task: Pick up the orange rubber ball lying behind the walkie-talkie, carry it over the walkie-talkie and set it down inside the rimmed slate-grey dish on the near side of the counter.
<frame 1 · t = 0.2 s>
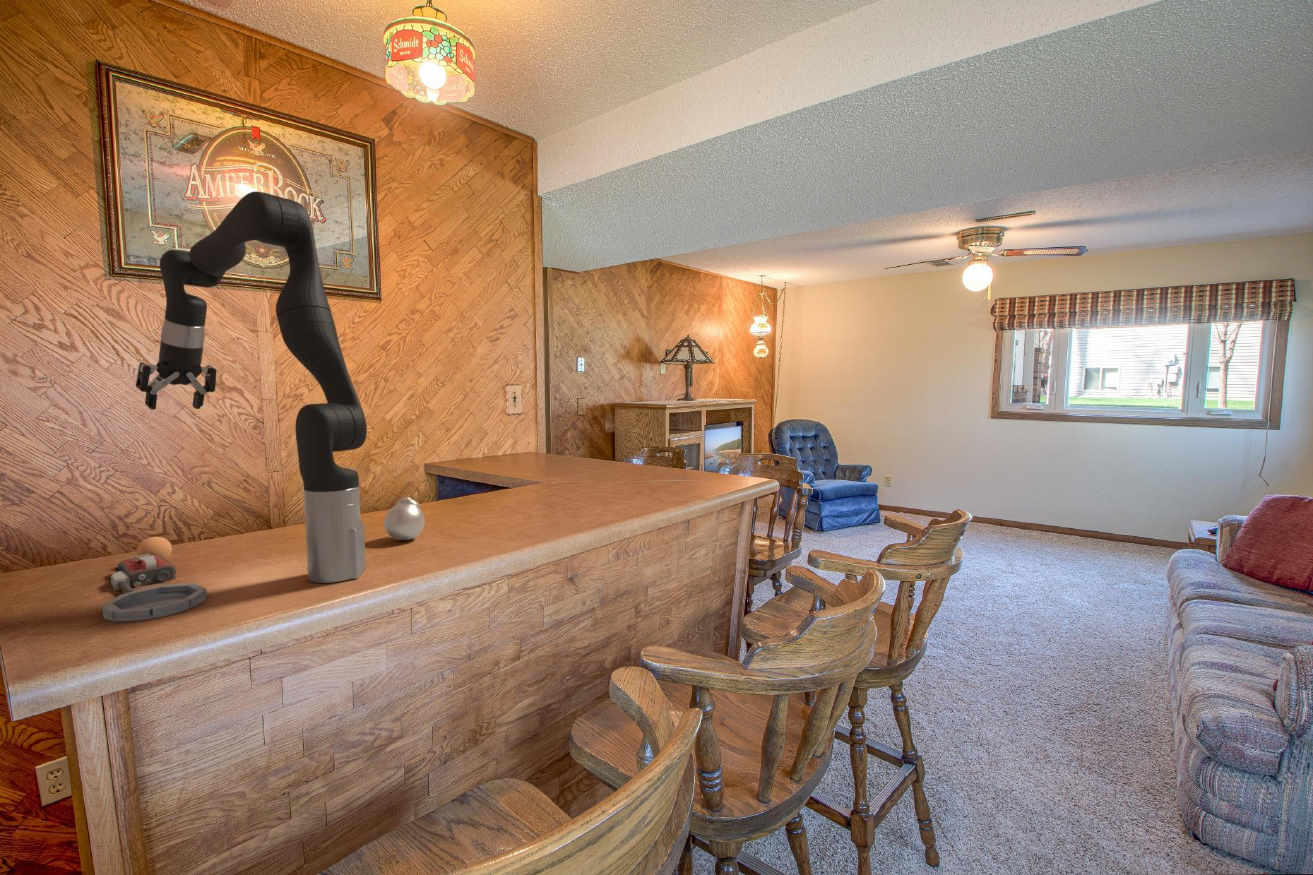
hand: (174, 408, 136), 31 cm above the table, tool tilted 20°, fingers open, 8 cm apart
dish: (156, 606, 97), on the table
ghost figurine: (406, 540, 139), on the table
ball: (154, 550, 119), point 3 cm above the table
walkie-talkie: (144, 584, 109), on the table
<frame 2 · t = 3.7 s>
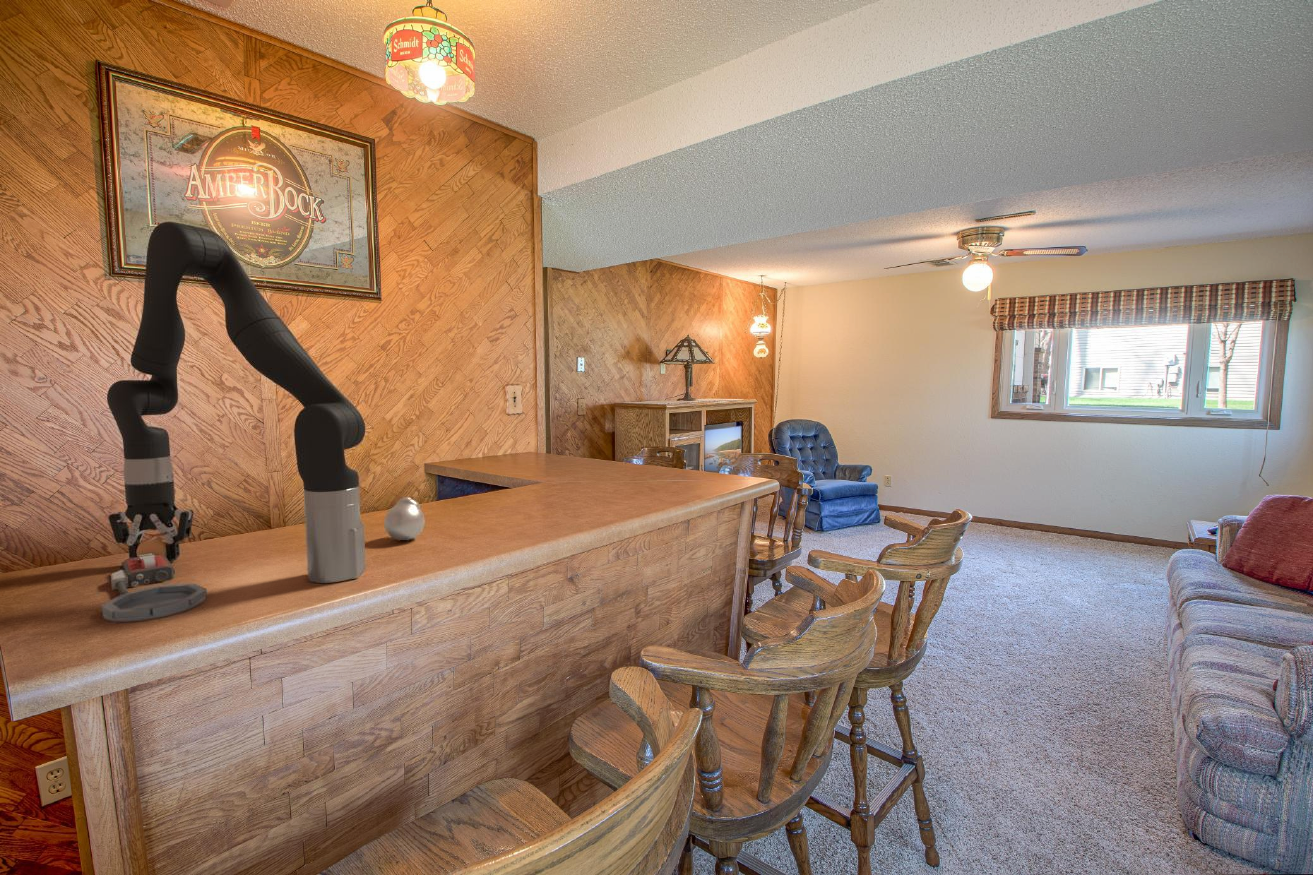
hand: (155, 561, 119), 0 cm above the table, tool pointing down, fingers closed on ball, 5 cm apart
ball: (154, 550, 119), point 3 cm above the table, touching gripper
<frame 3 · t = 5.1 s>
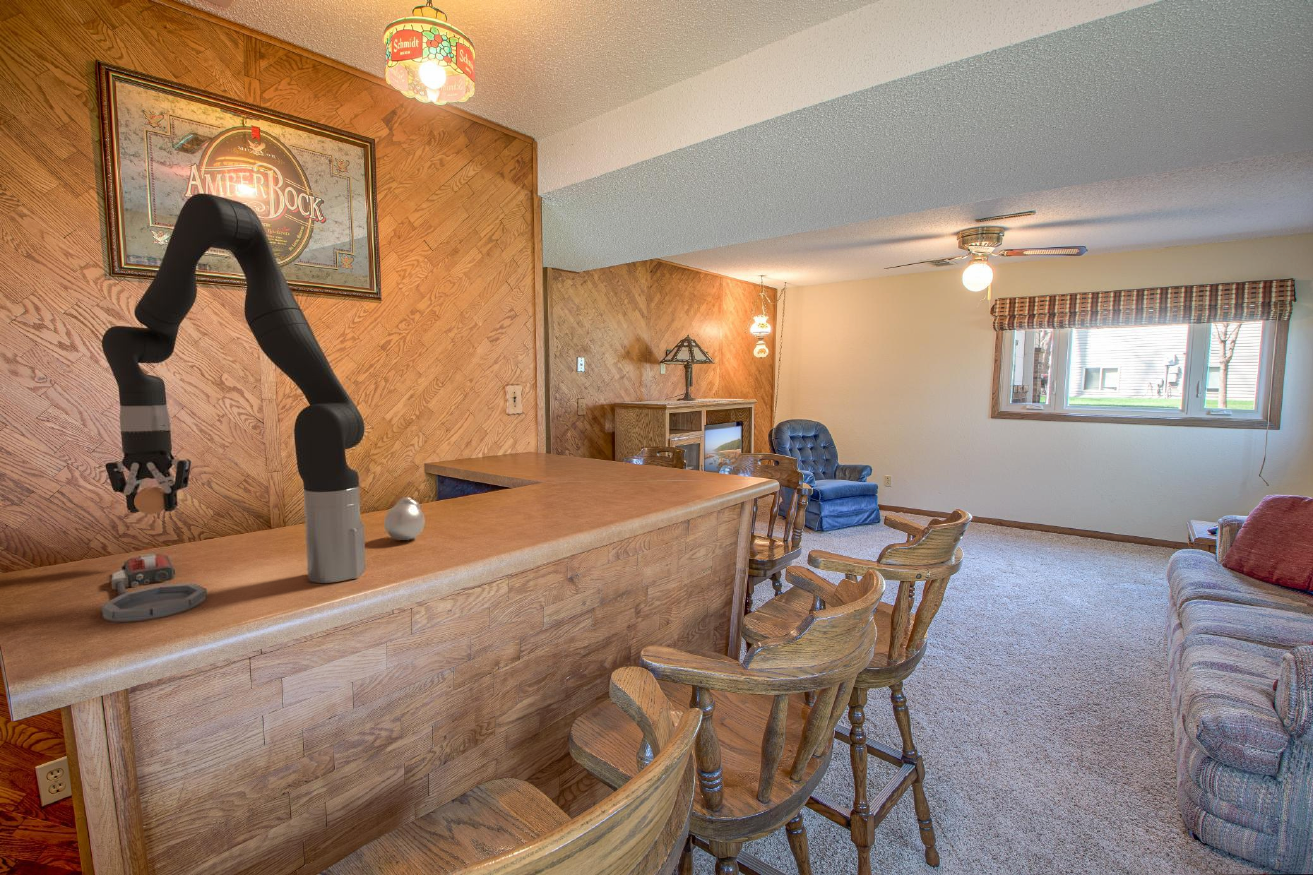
hand: (153, 511, 119), 11 cm above the table, tool pointing down, fingers closed on ball, 5 cm apart
ball: (152, 500, 118), point 13 cm above the table, touching gripper
everything else where it was.
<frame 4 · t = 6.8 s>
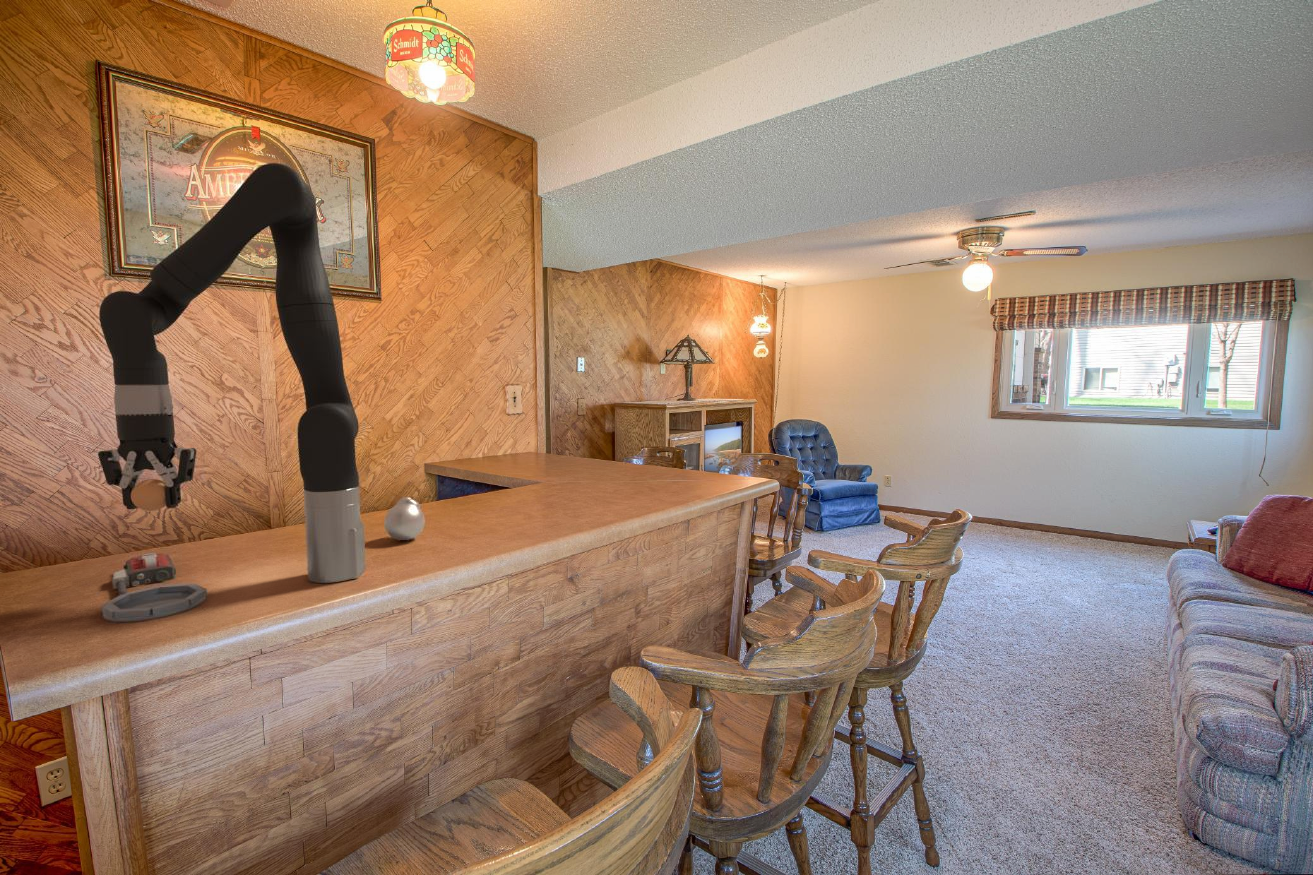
hand: (153, 507, 103), 15 cm above the table, tool pointing down, fingers closed on ball, 5 cm apart
ball: (151, 494, 102), point 17 cm above the table, touching gripper
everything else where it was.
when the fingers open (2 cm above the table, at t = 9.7 s): ball stays where it is, resting on dish.
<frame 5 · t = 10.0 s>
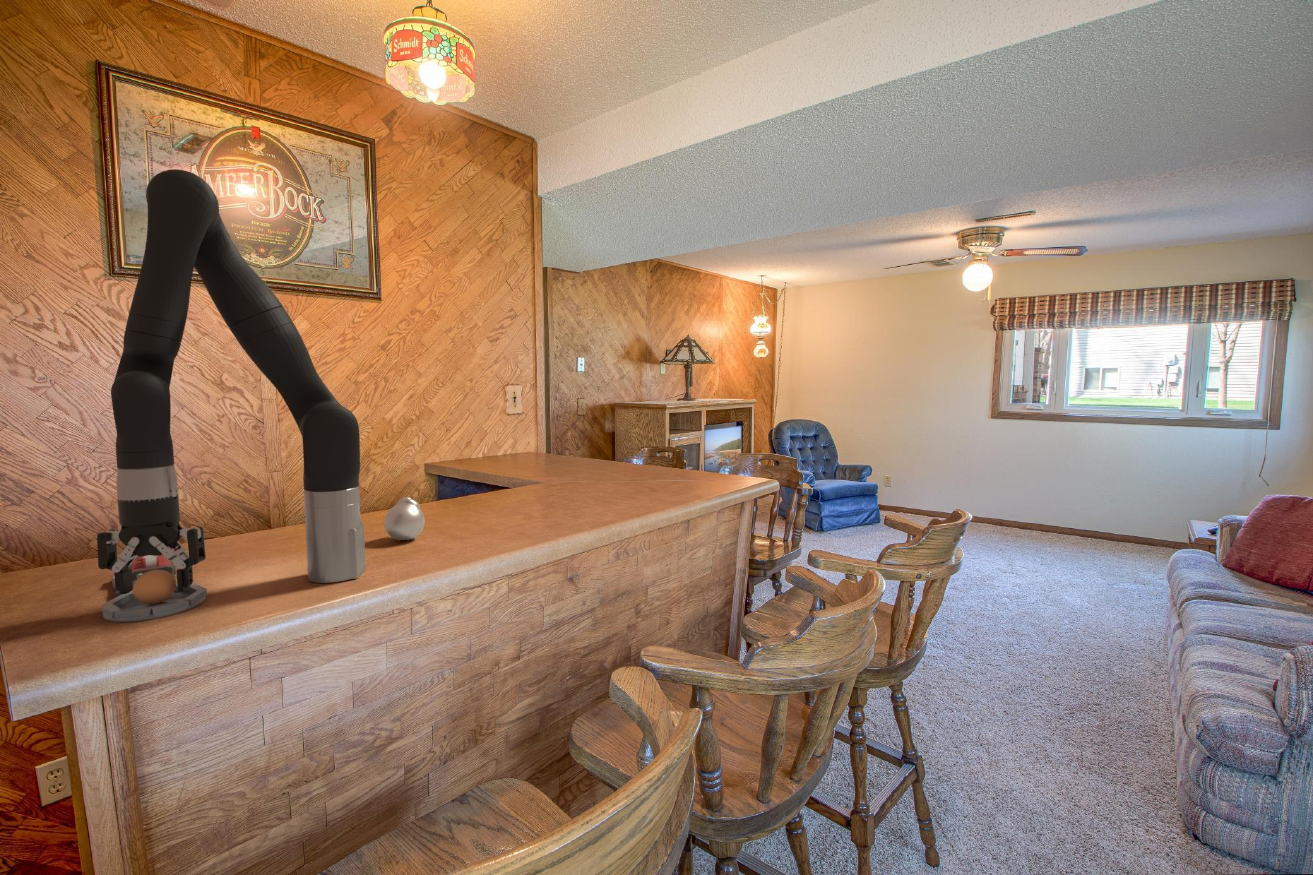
hand: (155, 590, 97), 3 cm above the table, tool pointing down, fingers open, 8 cm apart
ball: (155, 586, 97), point 3 cm above the table, touching dish
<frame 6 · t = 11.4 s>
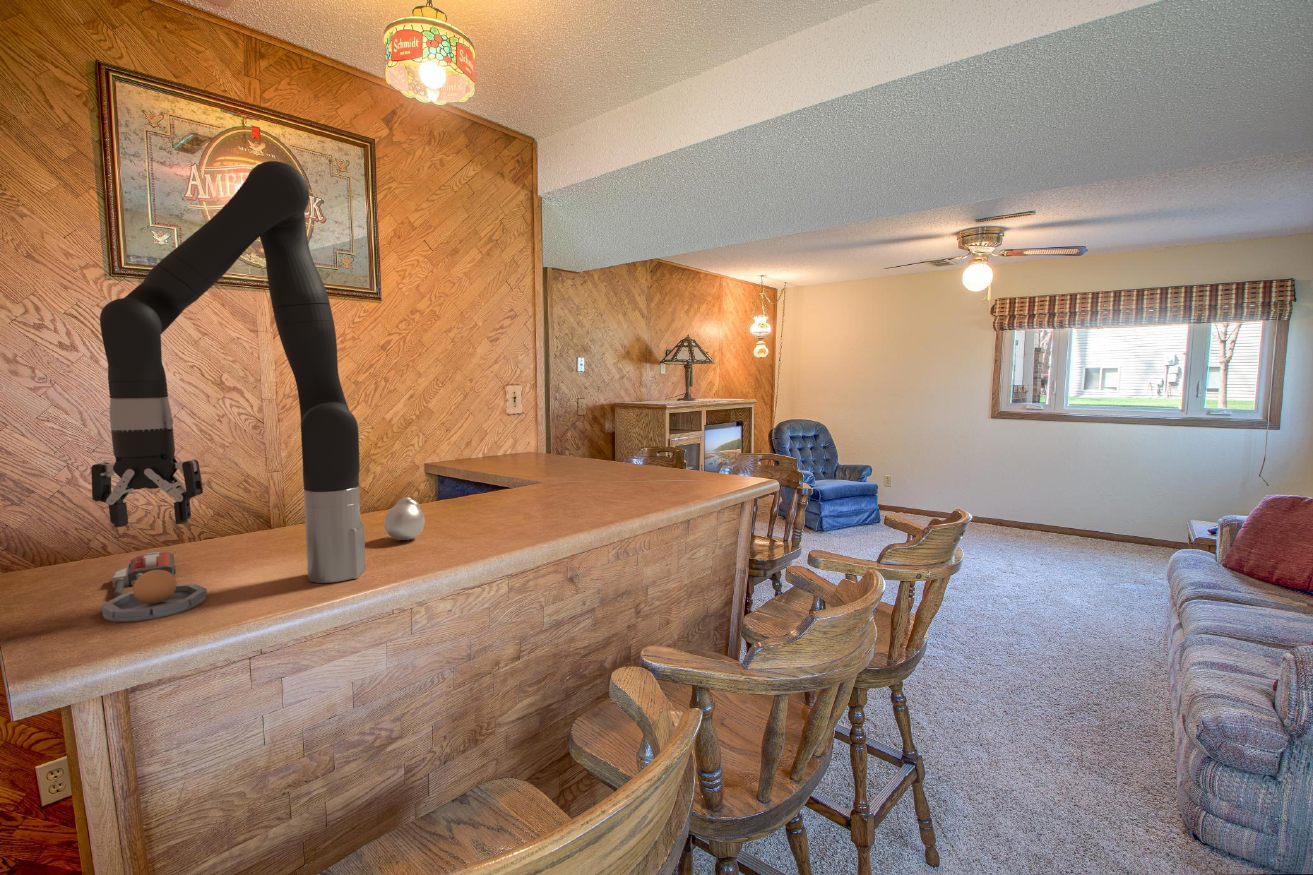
hand: (152, 524, 96), 14 cm above the table, tool pointing down, fingers open, 8 cm apart
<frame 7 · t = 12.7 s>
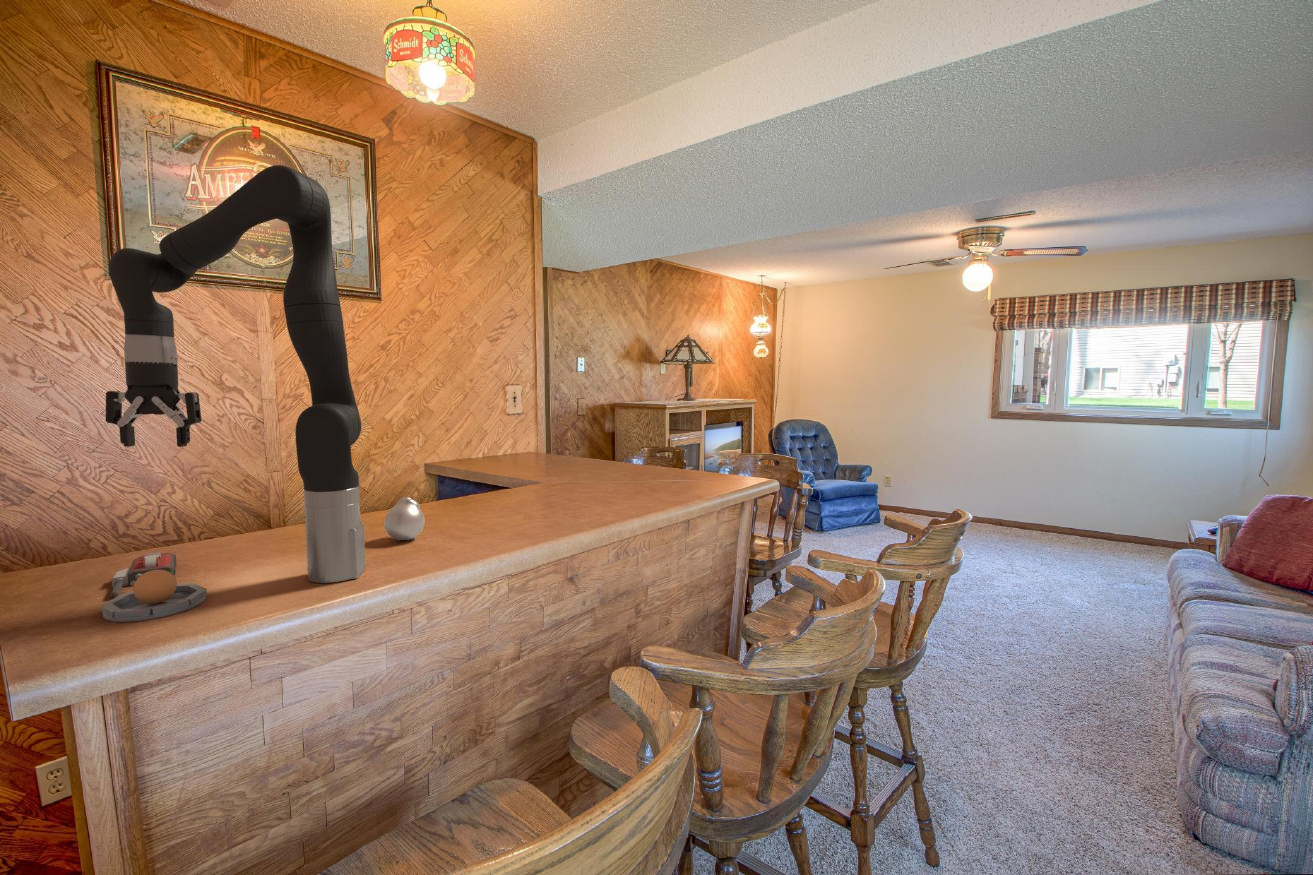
hand: (156, 446, 112), 25 cm above the table, tool pointing down, fingers open, 8 cm apart
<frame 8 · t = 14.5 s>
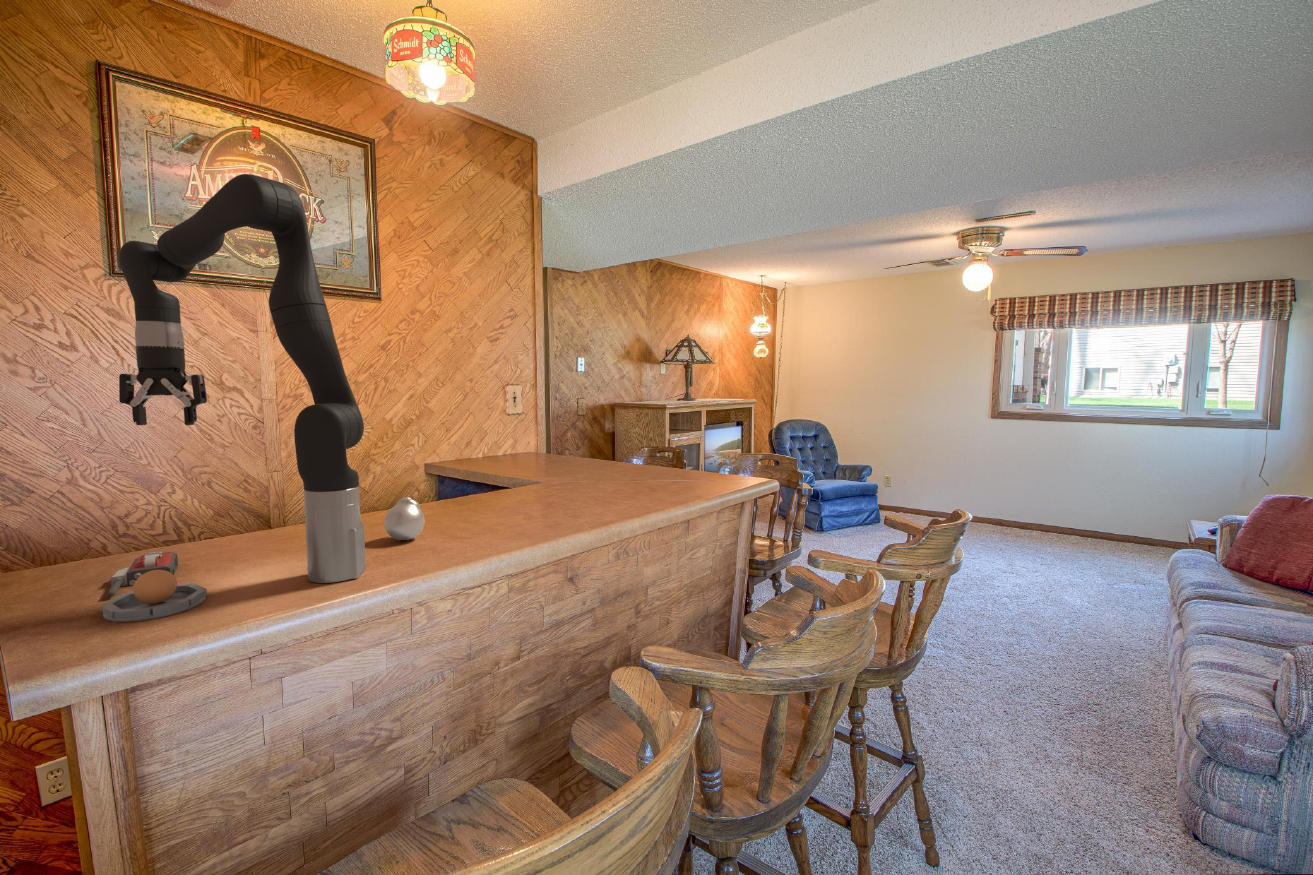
hand: (165, 425, 120), 28 cm above the table, tool pointing down, fingers open, 8 cm apart
at the end: ball 0.1 cm from the dish (horizontally); ball point 3.3 cm above the table; the gripper is holding nothing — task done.
